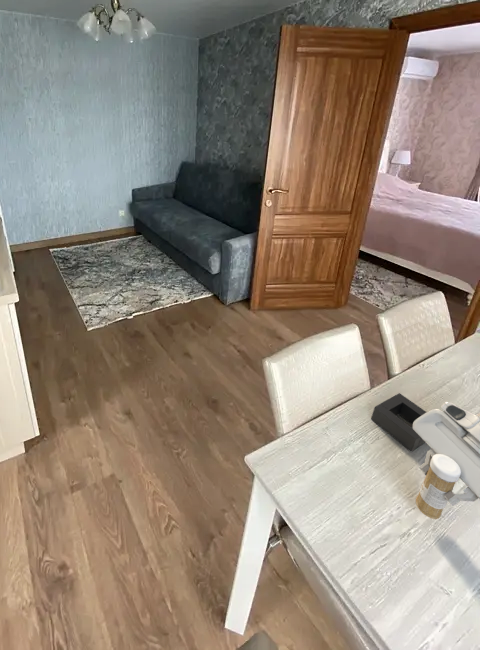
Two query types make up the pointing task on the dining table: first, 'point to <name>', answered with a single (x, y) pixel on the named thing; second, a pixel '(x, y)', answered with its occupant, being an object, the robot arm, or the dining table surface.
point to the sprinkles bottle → (437, 485)
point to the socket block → (399, 420)
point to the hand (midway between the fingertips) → (434, 485)
